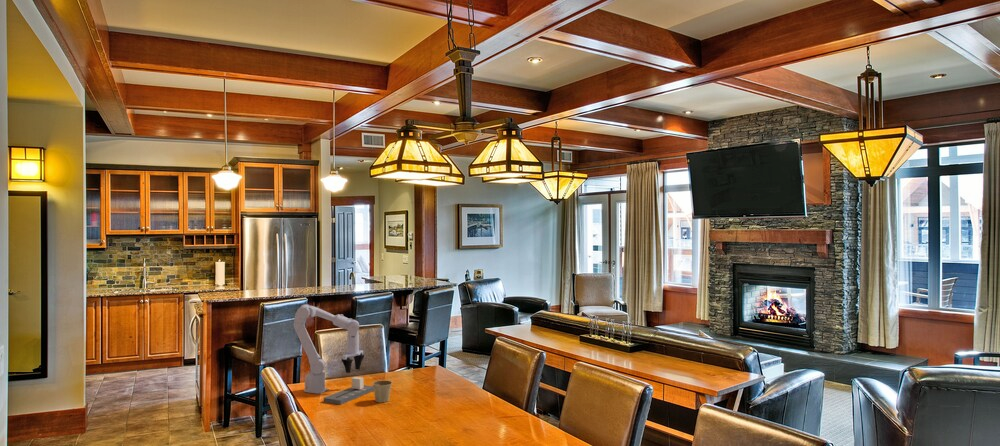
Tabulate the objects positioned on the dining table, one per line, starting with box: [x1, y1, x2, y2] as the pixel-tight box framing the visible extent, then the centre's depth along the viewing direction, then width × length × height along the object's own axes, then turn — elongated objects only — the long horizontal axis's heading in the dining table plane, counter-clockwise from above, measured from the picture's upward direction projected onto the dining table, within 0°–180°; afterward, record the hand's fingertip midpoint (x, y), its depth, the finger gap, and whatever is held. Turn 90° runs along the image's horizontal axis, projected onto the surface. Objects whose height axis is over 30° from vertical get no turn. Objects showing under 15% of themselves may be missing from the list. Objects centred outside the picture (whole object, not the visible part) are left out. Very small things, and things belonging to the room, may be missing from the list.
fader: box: [351, 376, 365, 389], centre depth 285 cm, size 5×3×5 cm, turn 67°
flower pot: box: [371, 379, 393, 404], centre depth 272 cm, size 9×9×9 cm
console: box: [323, 384, 374, 406], centre depth 280 cm, size 10×26×2 cm, turn 157°
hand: (352, 370), depth 291 cm, fingers open, 7 cm apart
